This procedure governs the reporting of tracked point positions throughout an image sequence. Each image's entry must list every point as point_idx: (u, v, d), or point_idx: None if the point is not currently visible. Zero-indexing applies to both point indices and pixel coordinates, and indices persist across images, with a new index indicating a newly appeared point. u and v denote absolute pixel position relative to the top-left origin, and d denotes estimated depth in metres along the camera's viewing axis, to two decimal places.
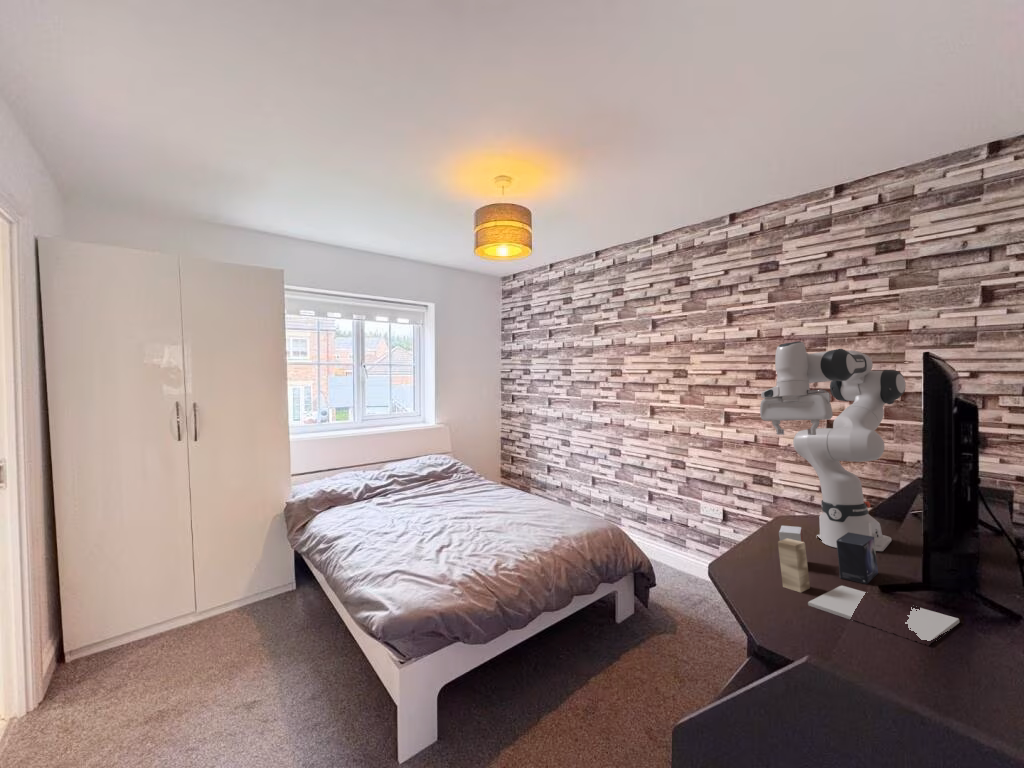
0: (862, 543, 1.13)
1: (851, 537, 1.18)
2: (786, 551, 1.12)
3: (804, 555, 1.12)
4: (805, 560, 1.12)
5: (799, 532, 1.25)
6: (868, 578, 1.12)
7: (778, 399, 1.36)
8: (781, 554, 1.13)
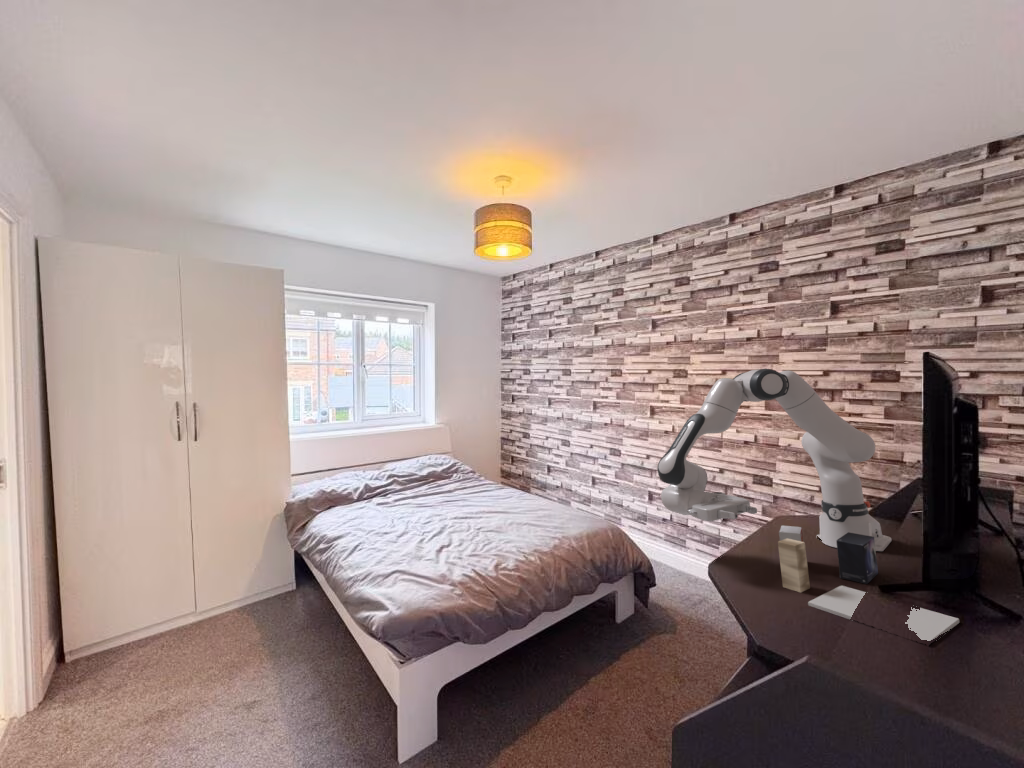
0: (863, 543, 1.13)
1: (851, 537, 1.18)
2: (786, 551, 1.12)
3: (804, 555, 1.12)
4: (805, 560, 1.12)
5: (800, 532, 1.25)
6: (868, 578, 1.12)
7: None
8: (781, 554, 1.13)
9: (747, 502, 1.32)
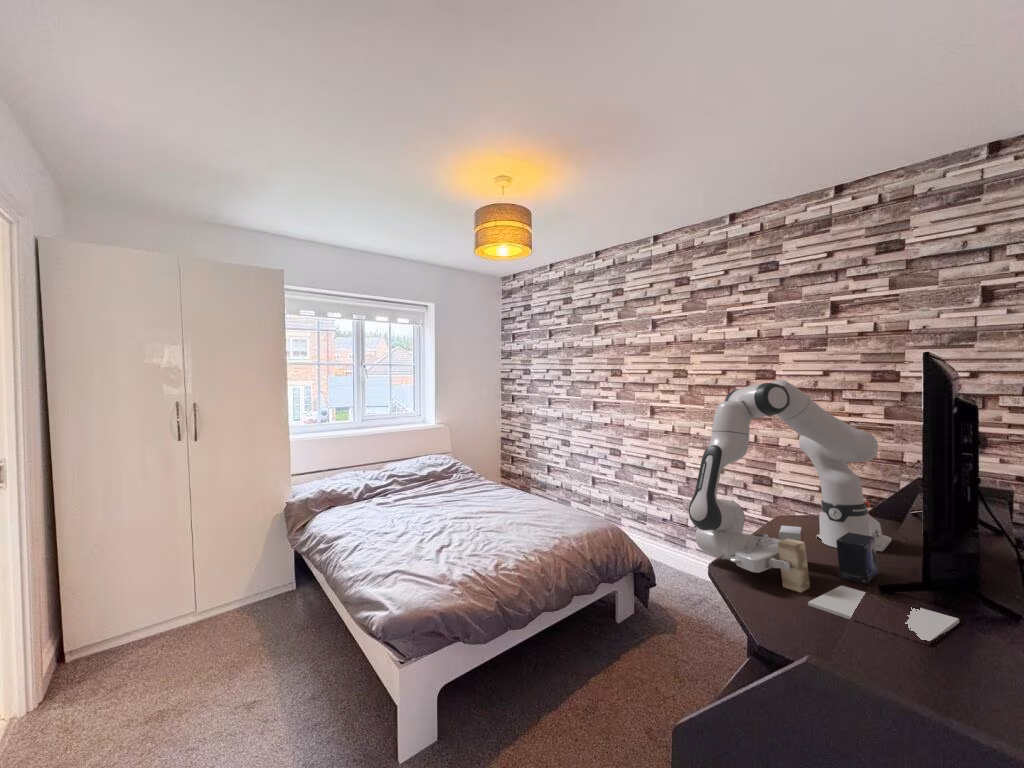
0: (862, 543, 1.13)
1: (851, 537, 1.18)
2: (786, 551, 1.12)
3: (804, 555, 1.12)
4: (805, 560, 1.12)
5: (800, 532, 1.25)
6: (868, 578, 1.12)
7: None
8: (781, 554, 1.13)
9: None
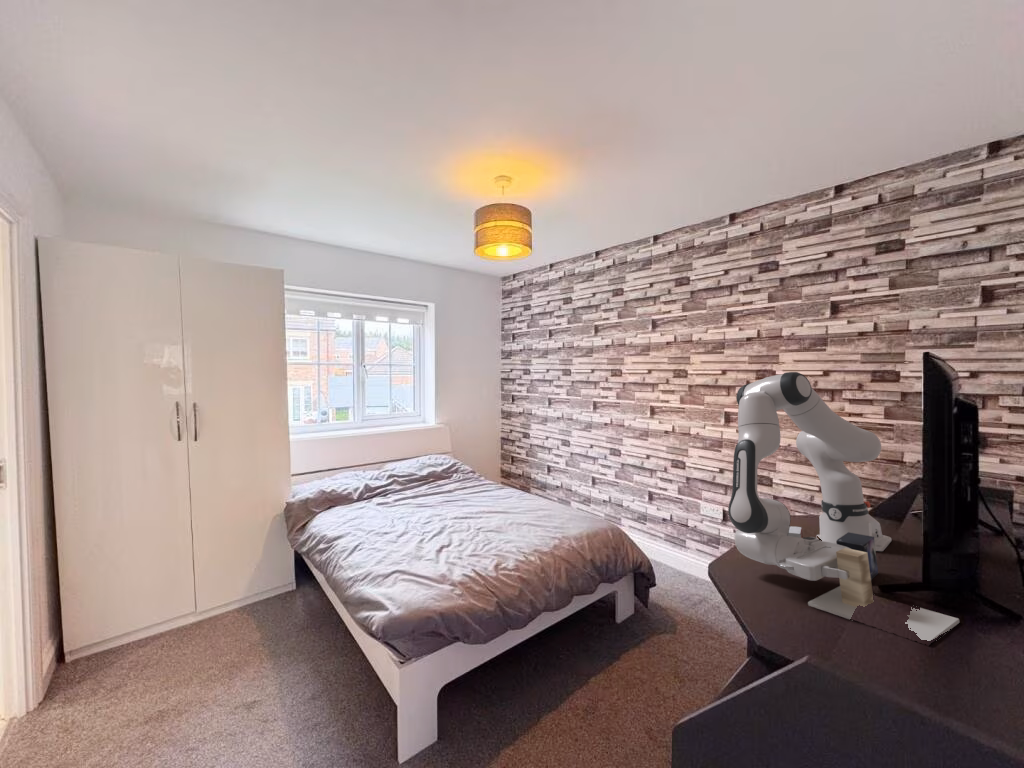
0: (862, 543, 1.13)
1: (851, 537, 1.18)
2: (847, 562, 1.00)
3: (867, 567, 0.99)
4: (868, 573, 0.99)
5: (800, 532, 1.25)
6: None
7: None
8: (840, 566, 1.01)
9: None
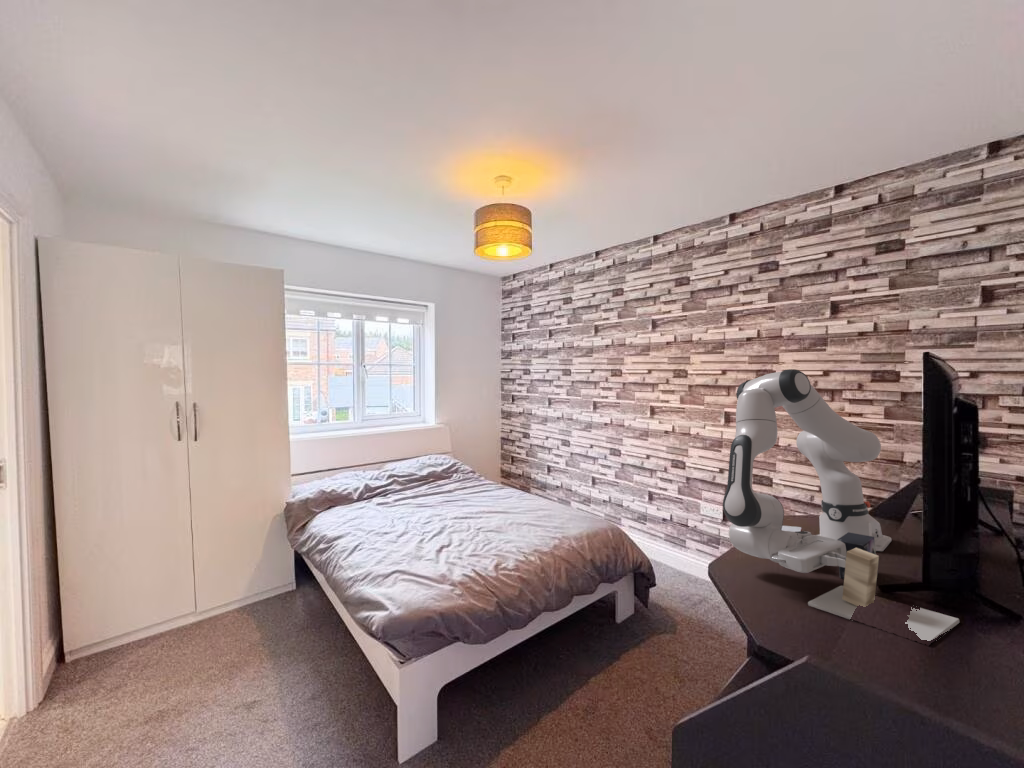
0: (862, 543, 1.13)
1: (851, 537, 1.18)
2: (856, 563, 0.98)
3: (876, 570, 0.98)
4: (875, 575, 0.98)
5: None
6: None
7: None
8: (848, 565, 1.00)
9: (843, 545, 1.09)
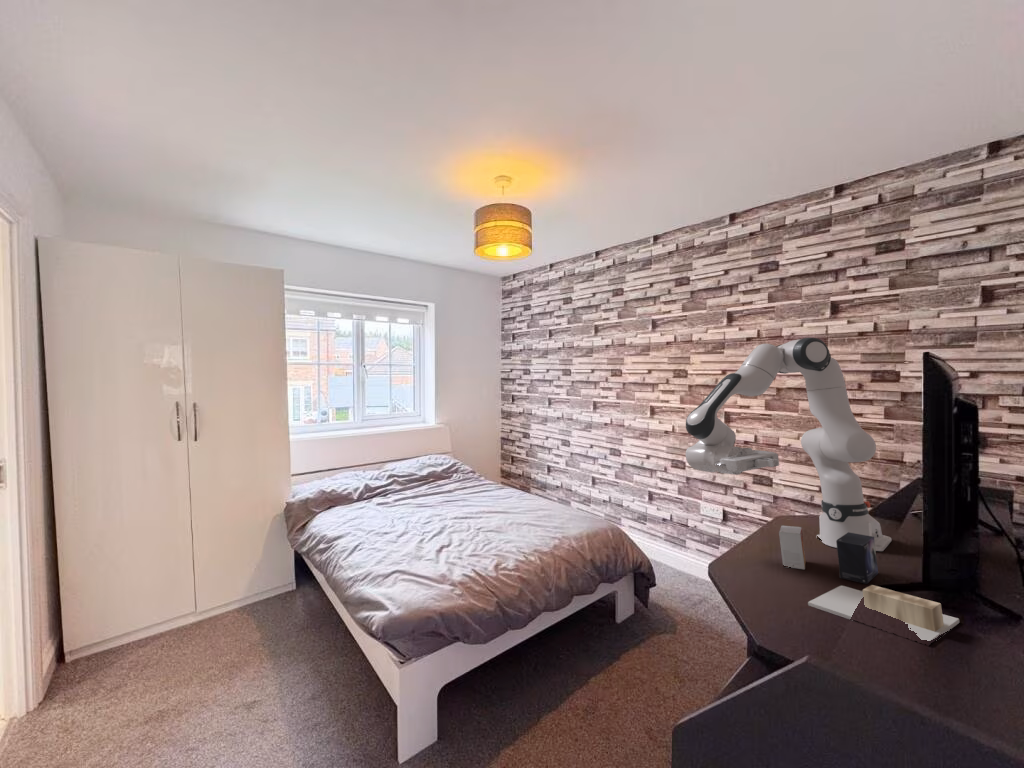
0: (862, 543, 1.13)
1: (851, 537, 1.18)
2: (919, 615, 0.88)
3: None
4: None
5: (800, 532, 1.25)
6: (868, 578, 1.12)
7: None
8: (911, 606, 0.90)
9: (775, 455, 1.30)
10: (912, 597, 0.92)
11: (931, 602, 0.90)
